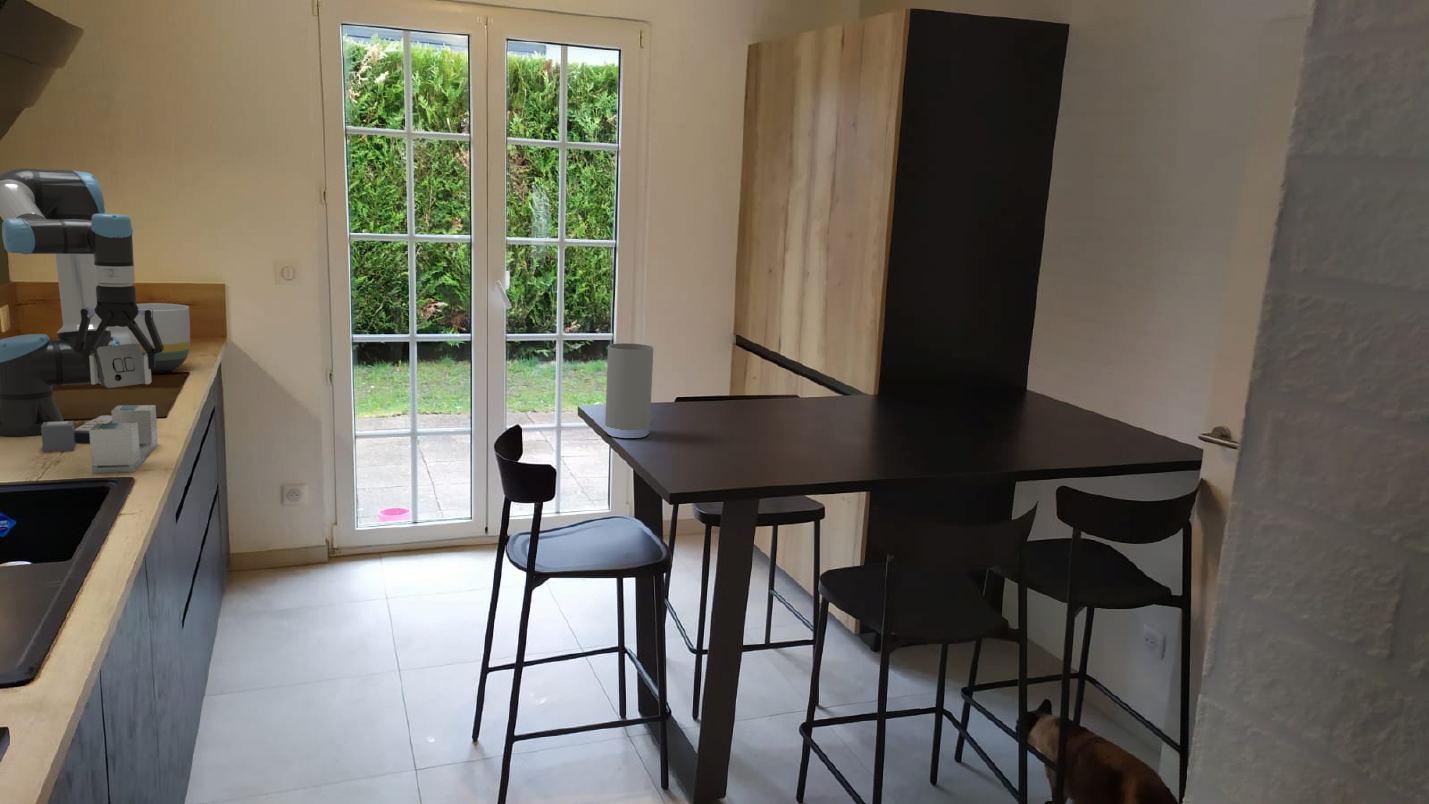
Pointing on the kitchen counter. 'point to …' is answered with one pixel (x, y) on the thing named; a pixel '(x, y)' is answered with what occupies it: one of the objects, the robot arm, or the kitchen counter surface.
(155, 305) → the planter
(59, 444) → the block
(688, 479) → the kitchen counter surface
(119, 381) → the electrical switch
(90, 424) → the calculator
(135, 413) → the grey u-shaped block
